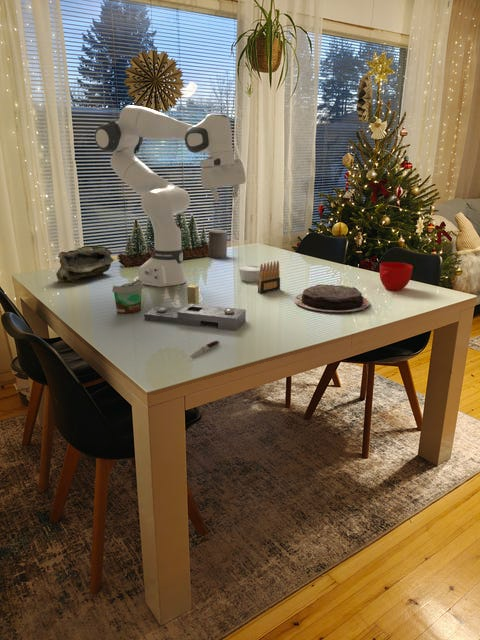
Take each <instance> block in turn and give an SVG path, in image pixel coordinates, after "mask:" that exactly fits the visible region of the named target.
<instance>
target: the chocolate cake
mask: <svg viewBox="0 0 480 640" xmlns="http://www.w3.org/2000/svg"><path fill="white" fill-rule="evenodd" d="M293 301H294V303H295V304H296V305H297V306H299V307H302V308H304V309H306V311H313V312H314V311H315V312H321V313H322V312H323V313H324V314H334V315H335V314H336V315H337V314H339V315H340V314H341V315H342V314H343V315H344V314H352V313H354V312H359V313H360V312H362V311H363V310H365V309H366V310H367V309H368V307H369V306H370V304H371V302H370V301H369V300H368V299H367V298H365V297H364V296H363V293H362V292H361V291H360V290H359V289H357V288H356V287H354V286H353V287H351V286H345V285H335V284H332V283H331V284H316V285H313V286H309V287H308V288H306V289H304V290H303V292H302V293H299V294H296V295H295V296H294V298H293Z"/></svg>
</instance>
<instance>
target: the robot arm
mask: <svg viewBox="0 0 480 640" xmlns="http://www.w3.org/2000/svg"><path fill="white" fill-rule="evenodd" d="M232 132H233V131H232V124H231V121H230V118H229V117H228V115H226V114H223V113H209V114H207V115H206V116H205V118H204V119H203V120H201V121H200V122H199V123H197V124H196V125H195V124H192V123H187V122H184V121H182V120H181V121H180V120H178V119H176V118H173V117H171V116H170V115H169V116H168V115H165V114H164V113H162V112H159V111H157V110H154V109H151V108H148V107H144V106H138V105H126V106H125V107H123V108H122V109H121V111H120V114H119V119H118V120H117V121H114V120H110V121H107V122H106V123H103V124H100V126H98V127H97V128H96V130H95V132H94V141H95V145H96V146H97V147H98V148H99V149H100V150H102V151H103V152H108V153H113V154H112V156H111V158H110V166H111V169H112V170H113V171H114V172H115V174H116V175H117V176H118V177H119V178H120V179H121V181H122V182H124V184H126V185H127V186H128V187H130V189H132V191H133V192H135V193H136V194H137V195H138V196H141V199H140V201H141V202H140V207H141V209H142V211H143V212H144V213H145V214H146V216H148V219H149V221H150V222H151V225H152V230H153V234H154V235H153V236H154V237H153V239H154V240H153V241H154V248H153V249H151V250H150V251H149V255H151V257H150V258H149V259H148V260H147V261H145V262H144V263H143V264H142V265H140V266H139V269H138V273H137V276H136V277H134V278H133V279H132V280H133V281H132V283H134V282H136V279H138V280H141V282H142V284H143V285H147V286H151V287H152V286H153V287H158V288H160V287H161V288H164V287H169V286H171V287H172V286H177V285H182V284H184V283H186V282H187V278H186V276H185V272H184V265H183V262H184V259H183V258H184V253H183V248H182V231H181V228H180V227H179V226H178V225H177V222H176V220H175V217H174V216H175V215H178V214H181V213H183V212H184V211H186V210H187V209H189V208H190V207H189V206H190V204H191V196H190V194H189V192H188V191H187V190H186V189H184V188H181V187H179V186H177V185H175V184H173V183H172V182H171V181H169V180H167V179H165V178H163V177H162V176H160V175H158V174H157V173H156V172H154V171H153V170H152V169H151V168H150V167H149V166H147V164H145V163H144V162H142V160H140V159H139V158H138V157H137V156H136V154H137V153H139V152H140V149H141V146H142V145H143V141H144V139H145V140H152V141H153V140H154V141H162V140H164V141H165V140H183V141H184V144H185V146H186V148H187V150H188V151H190V152H191V153H193V154H209V156H207V157H206V158H205V159H202V160H201V161H200V162H199V166H200V168H201V170H200V181H201V186H202V188H203V189H205V190H207V189H208V190H210V193H211V194H212V195H213V199H214V201H215V202H218V201H221V195H219V193H218V192H217V191H218V188H224V187H230V186H232V188H233V191H232V192H231V198H238V197H239V196H238V195H239V194H238V193H239V189H240V185H243V184H245V183H246V181H247V179H246V174H245V173H246V171H245V167H244V165H243V162H242V160H240V159H239V158H235V155H234V147H233V143H232V142H233V133H232Z"/></svg>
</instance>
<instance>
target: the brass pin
mask: <svg viewBox="0 0 480 640" xmlns="http://www.w3.org/2000/svg"><path fill="white" fill-rule="evenodd" d="M199 286H200V285H199V284H198V285H196V284H189V285H188V286H187V289H186V290H187V294H186V295H187V305H188V304H198V305H200V298H199V295H200V293H199Z"/></svg>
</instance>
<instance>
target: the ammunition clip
mask: <svg viewBox="0 0 480 640" xmlns="http://www.w3.org/2000/svg"><path fill="white" fill-rule="evenodd" d="M259 266H260V274H259V280H258V282H257V283H258V284H257V293H258V294H259V295H261V294H265V293H266V294H267V293H271V292H275V291H276V292H277V291H280V290H281V277H280V263H279V260H277V261H273V262H272V261H271V262H267V264H266V262H264V264H263V263H261V264H260V265H259Z"/></svg>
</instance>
